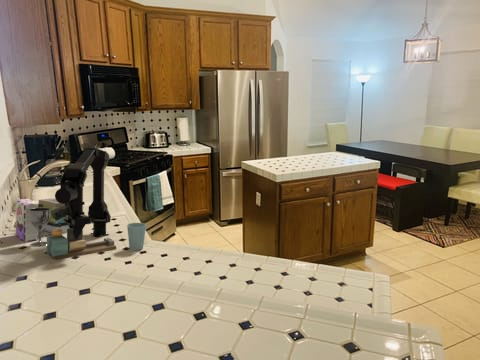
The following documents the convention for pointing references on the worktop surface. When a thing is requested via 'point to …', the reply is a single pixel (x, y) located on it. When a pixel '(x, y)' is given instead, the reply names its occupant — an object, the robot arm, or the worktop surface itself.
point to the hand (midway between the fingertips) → (74, 237)
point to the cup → (136, 235)
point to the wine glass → (39, 221)
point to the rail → (59, 249)
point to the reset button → (56, 232)
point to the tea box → (52, 222)
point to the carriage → (75, 241)
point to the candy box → (25, 220)
